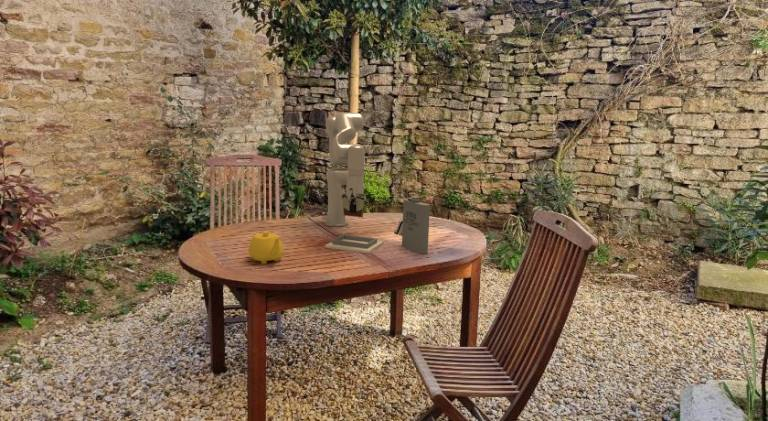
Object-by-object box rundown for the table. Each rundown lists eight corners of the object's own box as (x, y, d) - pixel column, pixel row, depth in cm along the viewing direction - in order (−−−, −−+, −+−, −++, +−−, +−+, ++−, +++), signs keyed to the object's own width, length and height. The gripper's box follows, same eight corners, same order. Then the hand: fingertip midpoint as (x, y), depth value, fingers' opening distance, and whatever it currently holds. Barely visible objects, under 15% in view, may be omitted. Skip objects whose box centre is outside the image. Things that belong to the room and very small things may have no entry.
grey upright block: (399, 245, 240) (400, 193, 235) (406, 244, 243) (408, 193, 238) (421, 254, 226) (423, 199, 221) (429, 253, 228) (431, 199, 224)
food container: (370, 215, 236) (370, 194, 234) (364, 217, 230) (365, 196, 228) (346, 212, 240) (346, 192, 238) (340, 215, 234) (341, 193, 233)
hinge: (417, 229, 274) (421, 213, 270) (422, 233, 271) (427, 218, 267) (393, 233, 264) (397, 216, 260) (398, 237, 261) (403, 221, 257)
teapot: (265, 269, 199) (265, 239, 196) (240, 258, 213) (240, 229, 210) (294, 263, 208) (294, 234, 206) (268, 252, 222) (268, 225, 220)
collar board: (325, 247, 233) (325, 240, 232) (342, 238, 249) (342, 232, 249) (368, 253, 225) (369, 246, 225) (383, 244, 242) (383, 237, 241)
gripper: (356, 170, 240) (355, 207, 243) (340, 174, 224) (340, 213, 228) (370, 171, 237) (369, 209, 241) (355, 175, 222) (355, 215, 225)
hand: (355, 211), depth 234 cm, fingers closed on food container, 5 cm apart
